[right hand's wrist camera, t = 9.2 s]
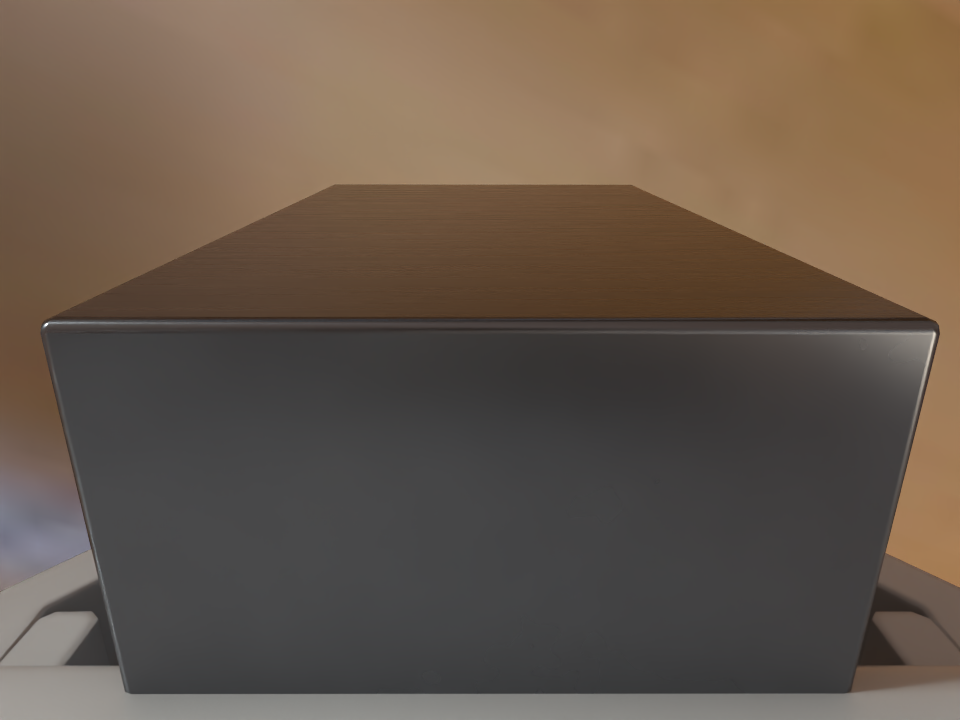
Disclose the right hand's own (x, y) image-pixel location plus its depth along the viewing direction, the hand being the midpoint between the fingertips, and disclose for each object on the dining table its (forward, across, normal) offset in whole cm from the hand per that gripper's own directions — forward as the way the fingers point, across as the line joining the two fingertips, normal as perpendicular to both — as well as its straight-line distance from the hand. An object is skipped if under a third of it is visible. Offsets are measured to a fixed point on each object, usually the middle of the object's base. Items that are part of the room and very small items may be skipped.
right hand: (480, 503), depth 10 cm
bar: (+3, 0, +9) cm, 10 cm away
